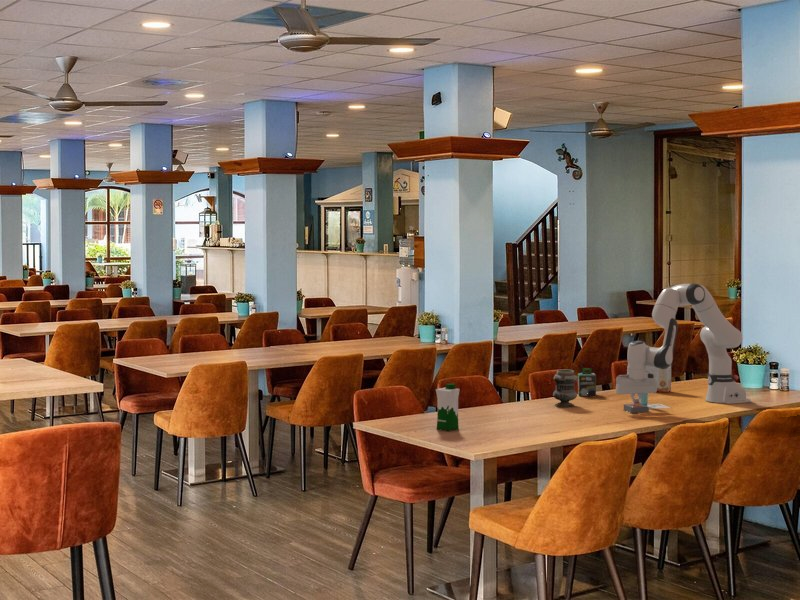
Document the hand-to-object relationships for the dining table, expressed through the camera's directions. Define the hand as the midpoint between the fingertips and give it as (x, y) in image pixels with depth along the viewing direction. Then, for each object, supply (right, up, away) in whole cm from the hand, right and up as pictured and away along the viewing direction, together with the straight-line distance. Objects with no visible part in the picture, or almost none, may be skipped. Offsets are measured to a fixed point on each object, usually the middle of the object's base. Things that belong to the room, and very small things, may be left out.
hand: (636, 402), depth 492 cm
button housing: (0, -4, 0) cm, 4 cm away
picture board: (+10, -4, +12) cm, 16 cm away
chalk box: (-15, -1, +51) cm, 53 cm away
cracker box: (+27, 0, +65) cm, 70 cm away
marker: (+7, -3, +12) cm, 14 cm away
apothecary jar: (-32, -4, +18) cm, 36 cm away
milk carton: (-94, -8, -43) cm, 103 cm away
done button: (0, -4, 0) cm, 4 cm away
